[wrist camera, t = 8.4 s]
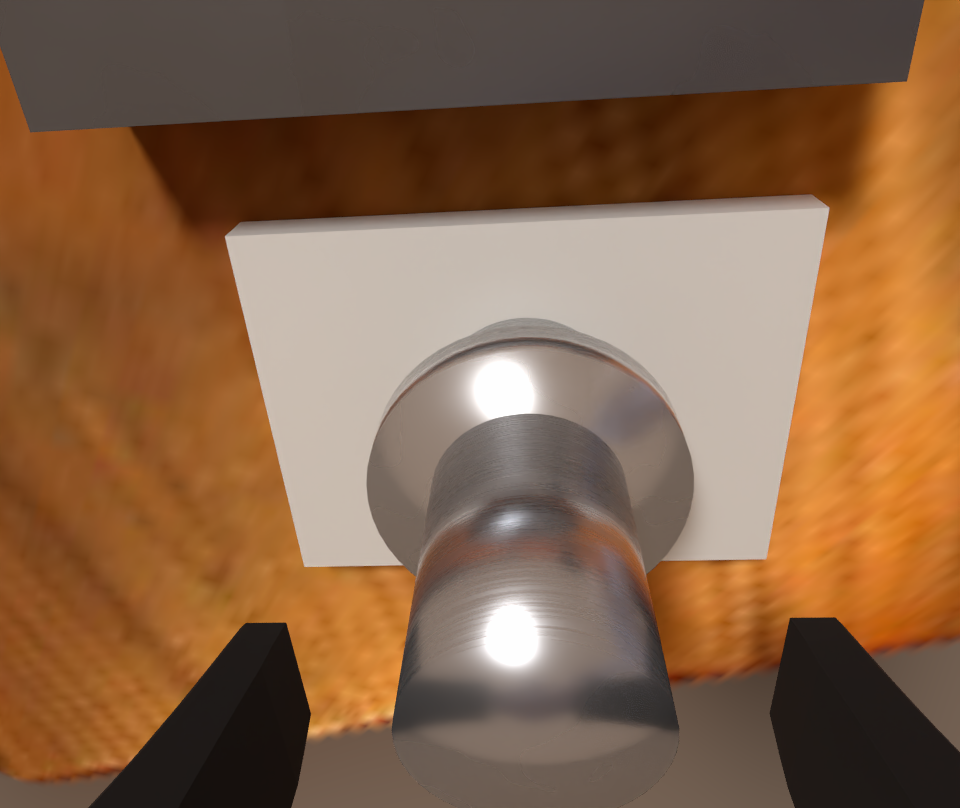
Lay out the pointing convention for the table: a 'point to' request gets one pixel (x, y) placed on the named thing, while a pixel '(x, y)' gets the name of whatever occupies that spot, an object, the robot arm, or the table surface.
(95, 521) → the table surface
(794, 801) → the robot arm
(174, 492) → the table surface
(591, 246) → the mat
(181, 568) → the table surface
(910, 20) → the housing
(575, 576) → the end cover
